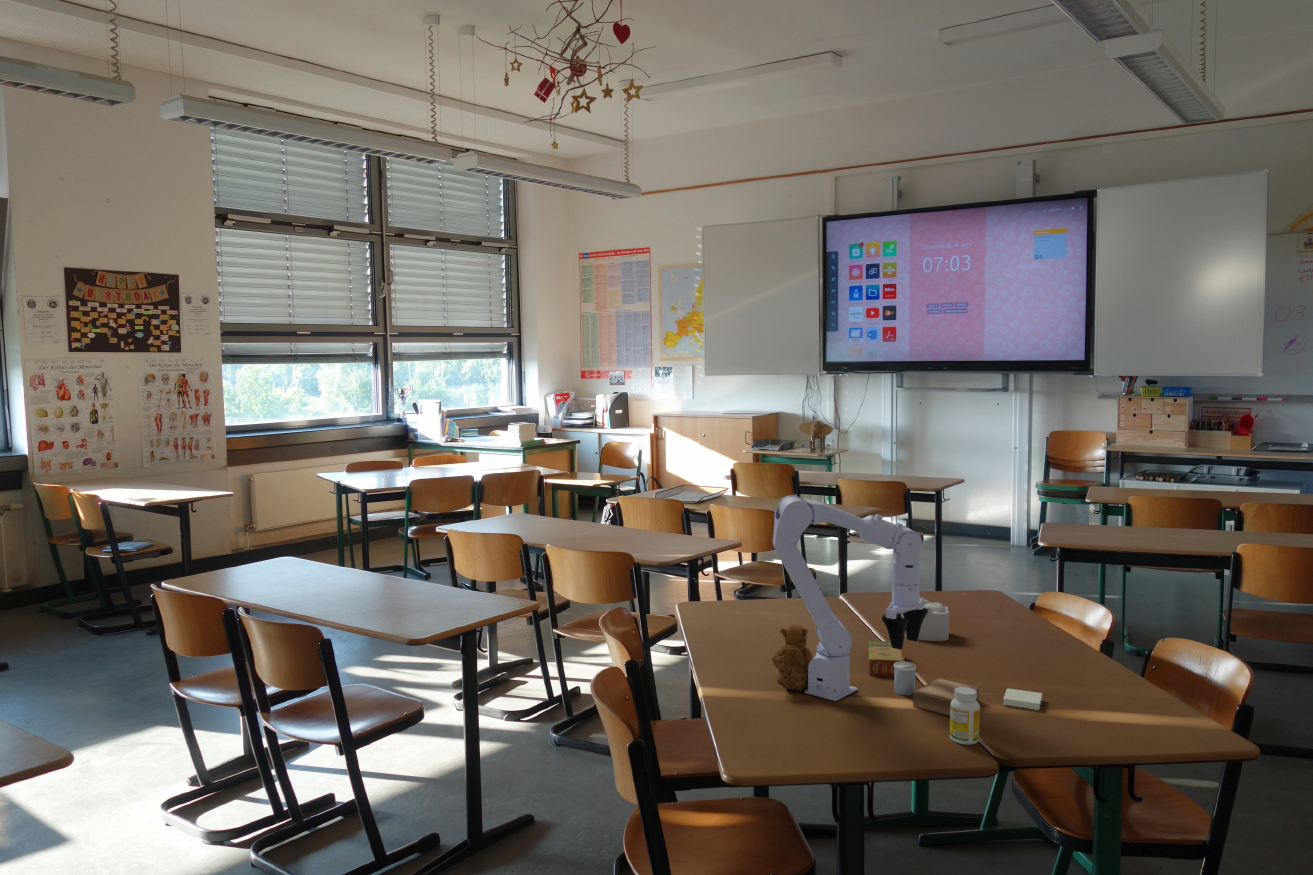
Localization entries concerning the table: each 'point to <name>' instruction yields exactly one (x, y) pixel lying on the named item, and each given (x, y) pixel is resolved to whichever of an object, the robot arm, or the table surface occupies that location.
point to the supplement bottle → (964, 716)
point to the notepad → (1022, 699)
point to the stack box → (938, 695)
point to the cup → (904, 678)
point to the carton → (883, 658)
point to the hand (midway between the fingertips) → (904, 644)
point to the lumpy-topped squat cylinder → (934, 622)
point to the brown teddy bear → (793, 658)
